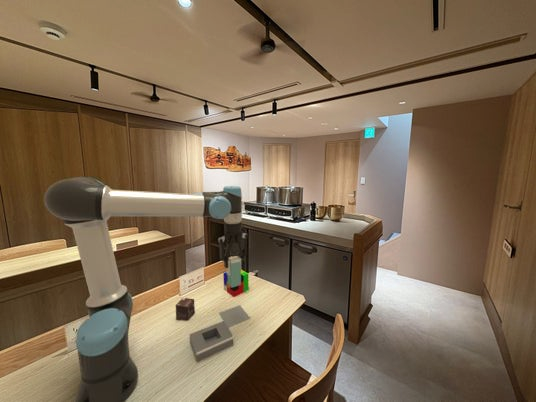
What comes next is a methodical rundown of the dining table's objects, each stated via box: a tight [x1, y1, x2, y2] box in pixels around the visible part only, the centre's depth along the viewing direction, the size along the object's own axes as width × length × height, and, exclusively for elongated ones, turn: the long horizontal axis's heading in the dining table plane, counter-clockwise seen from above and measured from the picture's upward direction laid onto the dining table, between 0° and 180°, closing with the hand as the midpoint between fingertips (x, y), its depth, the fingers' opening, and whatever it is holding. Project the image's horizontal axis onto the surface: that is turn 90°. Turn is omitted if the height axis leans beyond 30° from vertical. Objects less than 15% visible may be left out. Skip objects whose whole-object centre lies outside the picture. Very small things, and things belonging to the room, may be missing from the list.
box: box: [175, 297, 196, 322], centre depth 97 cm, size 6×6×7 cm
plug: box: [228, 255, 242, 288], centre depth 95 cm, size 4×4×12 cm
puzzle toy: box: [223, 269, 249, 298], centre depth 120 cm, size 10×10×10 cm
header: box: [189, 320, 235, 362], centre depth 82 cm, size 14×10×4 cm
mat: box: [218, 305, 251, 328], centre depth 98 cm, size 11×11×1 cm
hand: (233, 272), depth 95 cm, fingers closed on plug, 4 cm apart
